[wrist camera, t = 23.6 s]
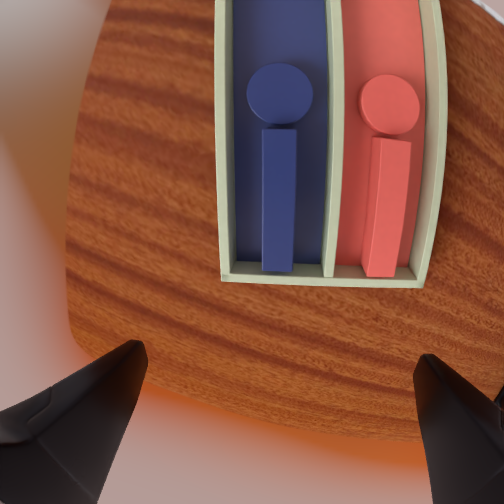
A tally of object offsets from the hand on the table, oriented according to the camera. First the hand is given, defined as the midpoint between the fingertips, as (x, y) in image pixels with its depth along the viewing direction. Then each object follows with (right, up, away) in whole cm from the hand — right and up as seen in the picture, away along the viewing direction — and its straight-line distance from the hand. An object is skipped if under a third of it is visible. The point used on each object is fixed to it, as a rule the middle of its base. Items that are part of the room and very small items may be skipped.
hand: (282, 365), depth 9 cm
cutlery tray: (+4, +12, +8) cm, 14 cm away
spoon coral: (+7, +9, +8) cm, 14 cm away
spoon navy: (+1, +9, +8) cm, 12 cm away
